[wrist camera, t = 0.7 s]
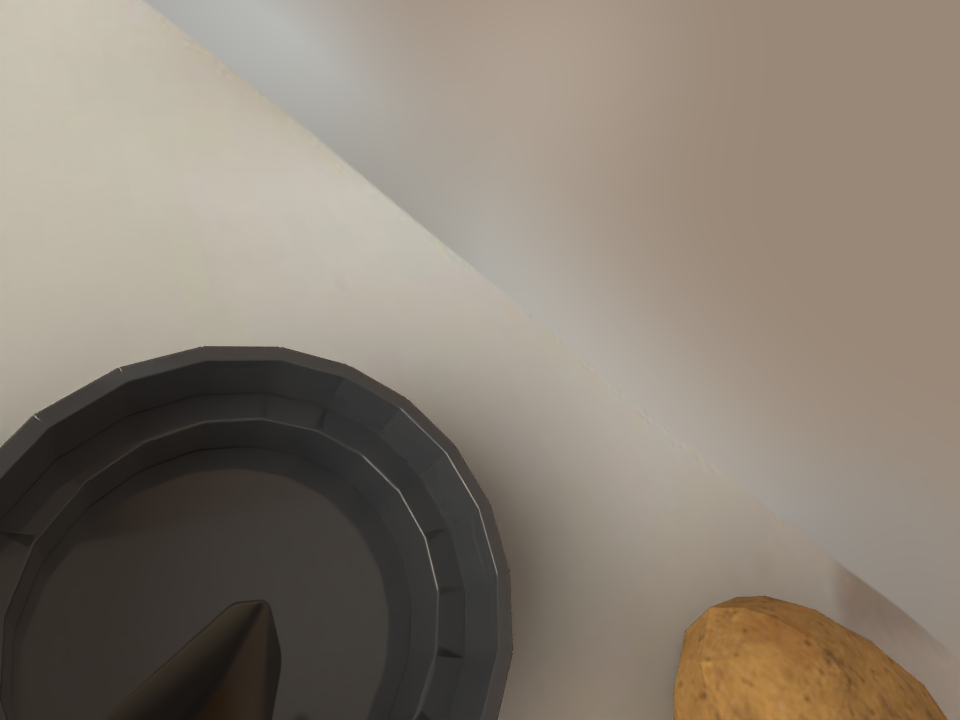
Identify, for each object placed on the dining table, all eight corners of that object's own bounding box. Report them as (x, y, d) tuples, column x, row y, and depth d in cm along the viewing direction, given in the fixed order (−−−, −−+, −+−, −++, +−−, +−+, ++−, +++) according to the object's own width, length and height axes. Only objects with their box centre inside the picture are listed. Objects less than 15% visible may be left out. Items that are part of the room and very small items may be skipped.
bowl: (212, 1080, 14) (255, 1194, 10) (-212, 651, 14) (-322, 611, 10) (506, 600, 23) (582, 569, 20) (253, 351, 23) (282, 275, 20)
